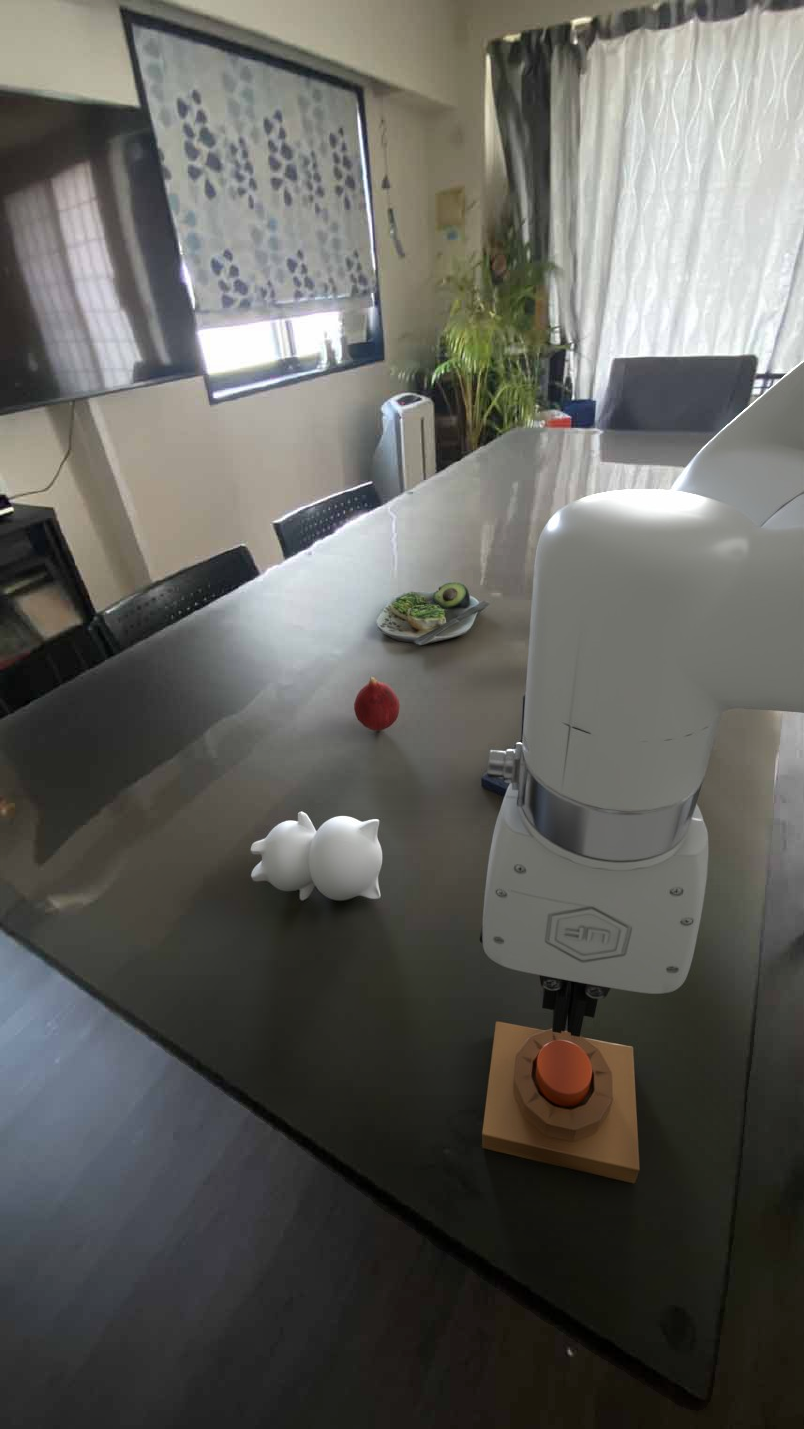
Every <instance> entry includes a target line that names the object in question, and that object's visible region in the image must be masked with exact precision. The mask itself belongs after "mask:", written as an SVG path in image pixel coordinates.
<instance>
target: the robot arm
mask: <svg viewBox="0 0 804 1429" xmlns="http://www.w3.org/2000/svg"><path fill="white" fill-rule="evenodd" d="M532 579H533V580H532V594H531V608H530V624H529V636H528V637H529V638H528V649H527V650H528V652H527V653H528V654H527V665H526V666H527V667H526V681H525V682H526V683H525V694H524V696H525V709H524V724H523V739H522V743H518V742H516V743H515V745H516V749H512V748H509V747H508V748H506V750H500V749H499V750H498V749H490V751H489V755H488V764H487V772H488V778H495V779H504V783H510V784H509V786H508V789H507V791H506V794H505V797H504V796H503V800H502V803H501V806H500V810H499V812H498V815H497V817H496V822H495V823H494V824H495V825H494V829H493V833H492V839H491V844H490V849H489V855H488V862H487V870H486V879H485V889H484V899H483V900H484V901H483V912H482V920H481V927H480V934H479V942H480V943H481V944H482V948H483V952H484V954H485V955H486V956H487V957H488V958H489V959H490V960H491V961H492V962H494V963H496V964H497V965H500V966H502V967H504V968H507V969H509V970H513V971H518V972H522V973H527V974H533V975H537V976H539V982H540V986H541V987H542V1002H541V1008H542V1009H546V1010H551V1011H552V1023H551V1024H552V1025H551V1026H552V1027H551V1029H552V1032H557V1033H561V1031H564V1032H565V1031H567V1032H569V1033H571V1035H572V1036H577V1037H580V1035H581V1033H582V1027H583V1022H584V1019H585V1017H588V1018H595V1015H596V1010H597V1005H598V1001H599V1000H603V999H606V997H607V996H608V994H609V992H610V990H611V989H616V990H621V991H627V992H633V993H634V992H635V993H641V994H651V995H657V994H668V993H672V992H674V991H676V990H678V989H680V988H681V987H682V986H683V984H684V983H685V981H686V980H687V977H688V974H689V972H690V969H691V965H692V962H693V959H694V953H695V949H696V945H697V939H698V933H699V930H700V924H701V919H702V913H703V907H704V903H705V894H706V886H707V880H708V867H709V848H710V847H709V832H708V828H707V825H706V822H705V821H704V818H703V814H702V812H701V809H700V807H699V805H698V804H697V803H698V799H699V796H700V793H701V790H702V786H703V782H704V779H705V775H706V771H707V768H708V765H709V762H710V758H711V755H712V751H713V747H714V744H715V740H716V737H717V733H718V730H719V726H720V722H721V719H722V716H723V714H724V713H725V712H727V711H729V710H734V709H742V710H743V709H744V710H745V709H746V710H758V711H759V710H760V711H773V712H788V713H801V714H804V360H802V361H801V362H800V363H798V364H797V365H796V366H794V367H793V368H792V369H791V370H790V371H788V372H787V373H786V374H785V375H783V377H781V378H780V379H778V381H777V382H775V383H774V384H773V385H772V386H770V387H769V388H768V389H767V390H766V391H765V392H763V393H762V394H761V395H760V396H759V397H758V398H756V399H755V400H754V401H753V402H752V403H751V404H749V406H747V407H746V408H745V409H744V410H743V411H742V412H740V413H739V414H738V415H737V416H736V417H735V418H733V419H732V420H731V421H730V422H729V423H727V425H726V426H725V427H723V428H722V429H721V430H719V432H717V434H715V435H714V437H712V438H711V439H710V440H709V441H708V442H707V443H706V444H705V445H704V446H703V447H702V448H701V449H700V450H699V451H698V452H697V453H696V455H694V457H692V459H691V460H690V461H689V463H687V465H686V466H685V467H684V468H683V470H682V471H681V472H680V473H679V474H678V476H677V477H676V479H675V480H674V481H673V483H672V484H671V486H670V488H668V489H653V488H652V489H649V488H647V489H646V488H644V489H643V488H642V489H641V488H637V489H636V488H635V489H620V490H619V489H618V490H611V491H606V492H600V493H595V494H591V495H587V496H584V497H581V498H578V499H576V500H573V501H570V502H569V503H567V504H566V505H564V506H562V508H559V509H558V510H557V511H556V512H554V514H552V516H551V517H550V519H549V520H548V521H547V522H546V524H545V526H544V527H543V529H542V531H541V533H540V535H539V538H538V541H537V544H536V550H535V559H534V566H533V578H532ZM566 1027H567V1028H566Z"/></svg>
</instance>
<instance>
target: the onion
mask: <svg viewBox="0 0 804 1429" xmlns="http://www.w3.org/2000/svg"><path fill="white" fill-rule="evenodd" d="M353 706H354V707H353V710H354V713H355V716H356V719H357V721H358V722H360V724H362V725H363V727H365V728H367V729H368V730H371V731H376V732H380V731H383V730H386V729H388V728H390V727H391V726H392V725H394V723H395V722H396V721H397V719H398V717H399V713H400V707H401V706H400V700H399V698H398V696H397V694H396V693H395V691H394V690H393V689H392V687H390V686H389V685H387V684H386V683H384V682H380V681H379V680H377V679H376V678H375V677H373V676H371V677H369V681H368V683H367V684H366V685H364V686H363V687H362V688H360V690H359V691H358V693H357V695H356V697H355V700H354V703H353Z"/></svg>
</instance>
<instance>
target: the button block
mask: <svg viewBox="0 0 804 1429" xmlns="http://www.w3.org/2000/svg"><path fill="white" fill-rule="evenodd" d="M555 1040H565V1041H569V1042H572V1043H574V1044H576V1045H577V1046H579V1047H580V1048H581V1049H582V1050H583V1051H584V1052H585V1054H586V1055H587V1056H588V1058H589V1060H590V1063H591V1067H592V1078H591V1083H590V1087H589V1092H588V1094H587V1096H586V1097H585V1099H584V1100H583V1101H582V1102H580V1103H579V1104H577V1105H574V1106H561V1105H557V1104H555V1103H553V1102H551V1101H550V1100H549V1099H547V1098H546V1097H545V1096H544V1094H543V1093H542V1092H541V1090H540V1089H539V1087H538V1084H537V1080H536V1066H537V1058H538V1054H539V1052H540V1050H541V1049H542V1048H543V1047H544V1046H545V1045H546V1044H547V1043H549V1042H551V1041H555ZM491 1049H492V1050H491V1058H490V1065H489V1066H490V1067H489V1073H488V1082H487V1091H486V1099H485V1107H484V1113H483V1114H484V1116H483V1122H482V1132H481V1148H482V1149H485V1150H489V1151H493V1152H497V1153H503V1154H507V1155H510V1156H515V1157H519V1158H523V1159H528V1160H532V1161H536V1162H540V1163H544V1164H549V1165H553V1166H558V1167H562V1168H568V1169H570V1170H575V1171H579V1172H584V1173H587V1174H592V1175H596V1176H601V1177H604V1178H609V1179H614V1180H617V1181H622V1182H626V1183H630V1184H636V1181H637V1178H638V1176H639V1173H640V1170H641V1169H640V1168H641V1167H640V1150H639V1130H638V1114H637V1096H636V1095H637V1093H636V1077H635V1076H636V1075H635V1058H634V1056H635V1054H634V1046H631V1045H625V1044H619V1043H614V1042H610V1041H603V1040H598V1039H592V1038H587V1037H584V1036H582V1035H581V1034H580V1037H577V1036H572V1035H571V1033H569V1032H567V1030H565V1032H564V1031H561V1033H557V1032H552V1028H549V1029H546V1030H544V1029H539V1028H535V1027H528V1026H523V1025H518V1024H514V1023H513V1024H512V1023H508V1022H502V1021H495V1026H494V1034H493V1042H492V1048H491Z"/></svg>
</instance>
